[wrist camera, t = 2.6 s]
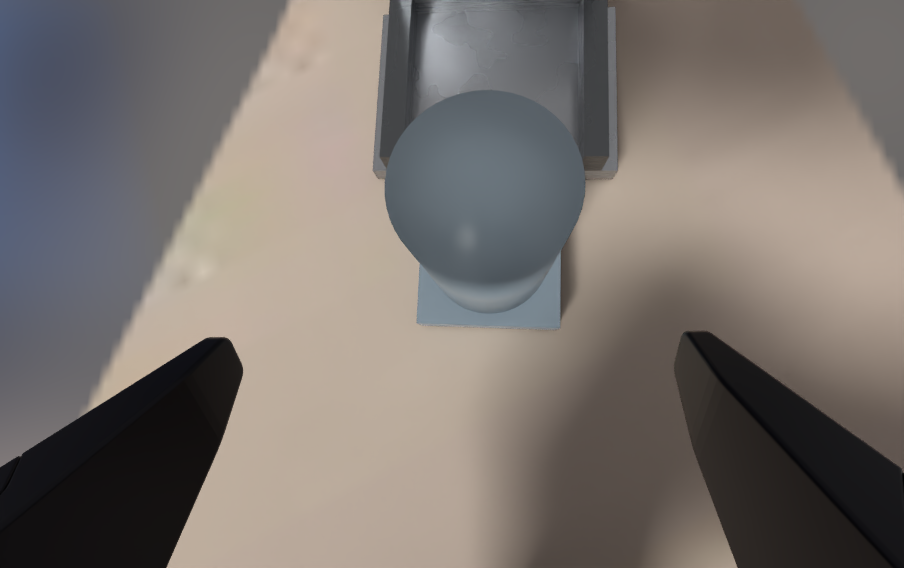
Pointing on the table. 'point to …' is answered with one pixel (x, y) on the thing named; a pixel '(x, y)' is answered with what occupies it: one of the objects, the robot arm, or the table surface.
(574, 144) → the blue-grey knob on base
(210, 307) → the table surface
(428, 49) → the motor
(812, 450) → the robot arm
